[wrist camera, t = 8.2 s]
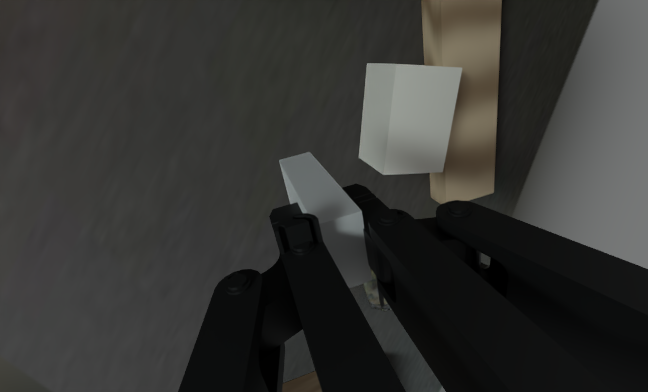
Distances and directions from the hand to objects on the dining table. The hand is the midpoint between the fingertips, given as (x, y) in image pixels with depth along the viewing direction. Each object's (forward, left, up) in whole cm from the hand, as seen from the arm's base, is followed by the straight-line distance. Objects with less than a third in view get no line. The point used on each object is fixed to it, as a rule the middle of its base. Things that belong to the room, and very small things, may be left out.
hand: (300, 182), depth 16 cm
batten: (+1, +20, -16) cm, 25 cm away
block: (+2, +13, -16) cm, 20 cm away
